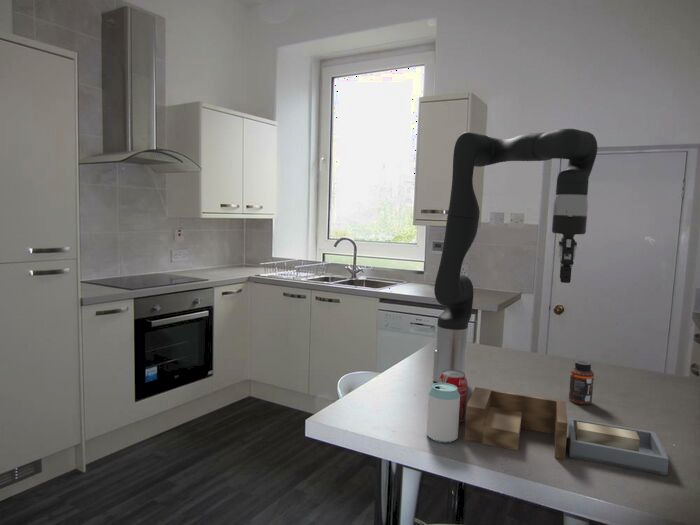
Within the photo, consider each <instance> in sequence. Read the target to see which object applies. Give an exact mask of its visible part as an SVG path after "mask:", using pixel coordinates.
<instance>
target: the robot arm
mask: <svg viewBox="0 0 700 525" xmlns="http://www.w3.org/2000/svg"><path fill="white" fill-rule="evenodd" d="M454 144H455V145H454V148H453V156H452V181H451V189H450V196H449V204H448V210H447V218H446V224H445V225H446V226H445V234H444V239H443V244H442V250H441V258H440V262H439V266H438V269H437V274H436V278H435V280H434V281H435V282H434V296H435V299H436V301H437V303H438V304H440V306H444V307H445V309H444V310H443V312H441V314H440V315H439V316H438V317H437V327H436V328H437V329H436V346H435V347H436V349H435V350H434V354H433V369H432V370H433V373H432V374H433V376H432V382H436V383H439V378H440V376H441V375H442V371H444V370H458V371H461V372H463V373H465V374H466V366H467V365H466V364H467V362H466V361H467V348H468V333H469V332H468V331H469V330H468V329H469V323H470V320H471V317H472V314H473V312H472V311H473V306H474V305H473V303H474V284H473V283H472V282H473V281H472V280H471V279H470V278H469V277H468V276H466V275H465V274H461V270H462V266H463V262H464V259H465V257H466V256H467V253H468V252H469V250H470V248H471V247H472V245H473V243H474V241H475V238H476V236H477V233H478V227H479V220H480V205H479V203H478V199H477V195H476V193H475V190H474V185H473V182H474V181H473V178H474V169H475V167H477V168H479V167H480V168H481V167H486V166H491V165H495V164H499V163H506V162H543V161H545V162H546V161H550V160H553V159H561V160H568V163H567V166H566V169H565V170H562V171H560V172H559V173H557V174H558V175H557V177H556V187H555V198H554V202H553V210H552V211H553V212H552V213H553V214H552V224H551V225H552V226H551V233H553V234H559V235H560V234H562V237H561V240H559V241H558V249H559V250H558V258H559V264H560V265H559V266H560V268H559V278H560V280H559V281H560V282H561V283H563V284H570V283H571V279H572V268H573V266H574V260H575V259H576V250H577V247H578V243H577V241H576V240H575V236H576V235H585V234H586V233H587V223H588V222H587V220H588V211H589V210H588V209H589V201H588V192H589V179H590V176H591V173H592V172H593V167H594V164H595V161H596V158H597V154H598V141H597V139H596V137H595V135H594V134H593V133H591V132H588V131H585V130H580V129H576V128H561V129H555V130H552V131H548V132H535V133H532V132H531V133H525V134H521V135H517V136H515V137H512V138H498V137H492V136H488V135H485V134H481V133H477V132H470V131H465V132H462V133H461V134H459V136H458V137H457V139H456V141H455V143H454Z"/></svg>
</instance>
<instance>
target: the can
mask: <svg viewBox="0 0 700 525" xmlns="http://www.w3.org/2000/svg"><path fill="white" fill-rule="evenodd" d="M457 389H458V388H457V387H456V386H455V385H452V384H449V383H438V382H436V383H432V384H431V388H430V390H429V391H428V400H427V419H426V435H427V437H429V438H430V439H431V438H432V439H434V440H436V441H435V442H437V441H440V442H439V443H441V442H449V443H451V442H450V441H452V442H454V441H455V440H457V439H458V437H459V424H460V423H459V406H460V394H459V392H458V391H457ZM432 439H431V440H432ZM434 440H433V441H434Z"/></svg>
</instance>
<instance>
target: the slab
mask: <svg viewBox="0 0 700 525" xmlns="http://www.w3.org/2000/svg"><path fill="white" fill-rule="evenodd" d="M576 440H578V441H583V442H589V443H594V444H600V445H605V446H611V447H616V448H621V449H627V450H632V451H638V452H639V443H640V439H639V437H638V434H637V432H636V431H630V430H624V429H618V428H613V427H607V426H601V425H595V424H589V423H583V422H577V426H576Z"/></svg>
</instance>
